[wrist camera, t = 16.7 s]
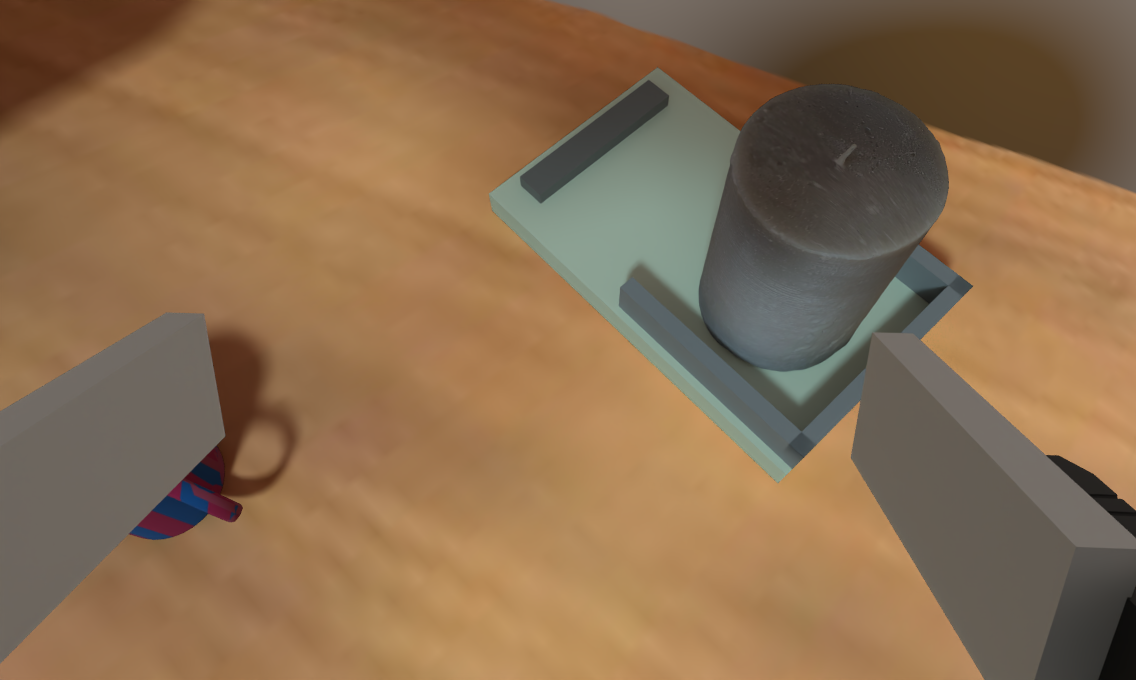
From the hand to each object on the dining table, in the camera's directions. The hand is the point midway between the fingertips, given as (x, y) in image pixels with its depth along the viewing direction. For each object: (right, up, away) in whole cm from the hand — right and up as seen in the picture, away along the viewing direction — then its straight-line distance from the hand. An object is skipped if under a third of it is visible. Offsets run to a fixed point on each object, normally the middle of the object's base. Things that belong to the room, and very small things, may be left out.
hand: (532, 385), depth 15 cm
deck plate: (+10, +6, +35) cm, 37 cm away
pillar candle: (+13, +3, +31) cm, 34 cm away
